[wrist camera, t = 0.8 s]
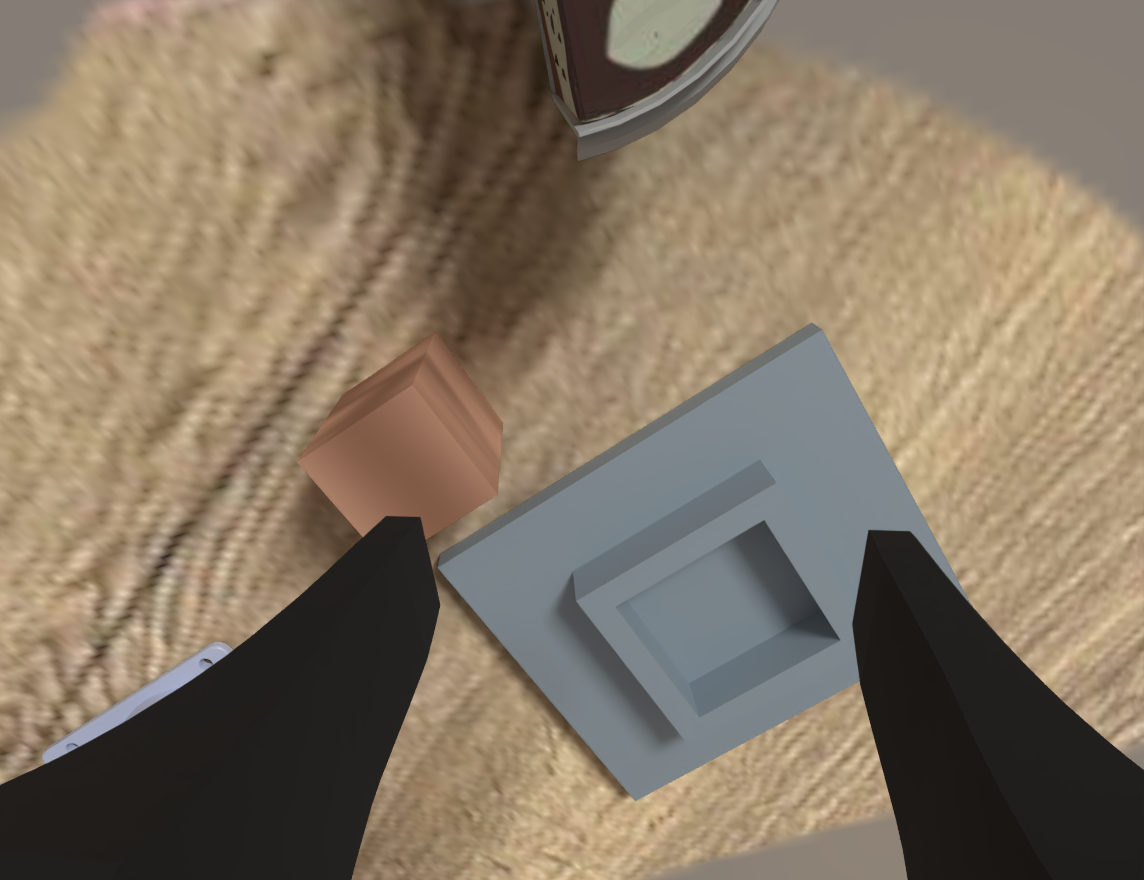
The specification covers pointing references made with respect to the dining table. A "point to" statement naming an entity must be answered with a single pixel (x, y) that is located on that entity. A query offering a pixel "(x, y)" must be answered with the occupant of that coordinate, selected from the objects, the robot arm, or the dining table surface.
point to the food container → (639, 60)
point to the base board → (698, 566)
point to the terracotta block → (409, 444)
